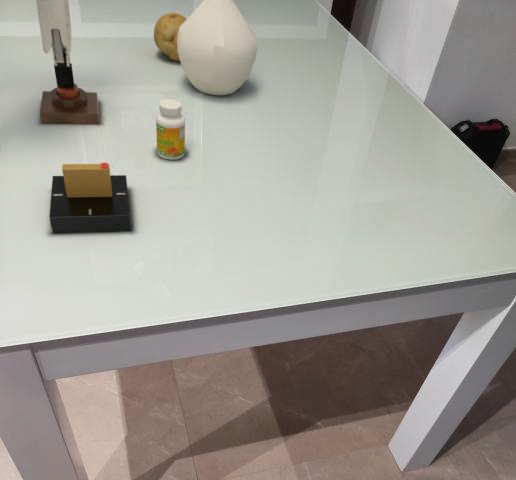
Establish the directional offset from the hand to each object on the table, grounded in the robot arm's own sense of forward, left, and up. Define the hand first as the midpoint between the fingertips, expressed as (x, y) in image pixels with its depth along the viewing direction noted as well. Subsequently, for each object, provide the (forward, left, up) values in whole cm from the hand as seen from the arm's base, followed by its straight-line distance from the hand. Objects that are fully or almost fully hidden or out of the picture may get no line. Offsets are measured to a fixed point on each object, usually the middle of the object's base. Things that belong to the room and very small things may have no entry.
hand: (65, 85), depth 103 cm
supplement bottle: (+19, -17, -6) cm, 26 cm away
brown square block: (0, 0, -6) cm, 6 cm away
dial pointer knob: (+4, -36, -3) cm, 36 cm away
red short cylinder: (0, 0, -2) cm, 2 cm away
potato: (+25, +33, -6) cm, 42 cm away
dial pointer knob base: (+4, -36, -6) cm, 37 cm away
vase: (+33, +15, -6) cm, 37 cm away
